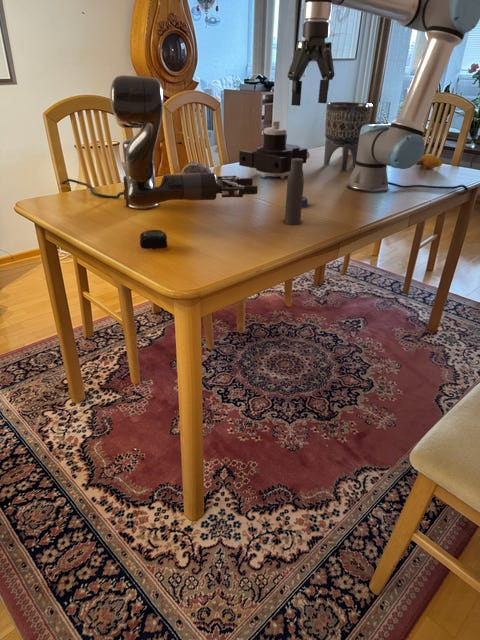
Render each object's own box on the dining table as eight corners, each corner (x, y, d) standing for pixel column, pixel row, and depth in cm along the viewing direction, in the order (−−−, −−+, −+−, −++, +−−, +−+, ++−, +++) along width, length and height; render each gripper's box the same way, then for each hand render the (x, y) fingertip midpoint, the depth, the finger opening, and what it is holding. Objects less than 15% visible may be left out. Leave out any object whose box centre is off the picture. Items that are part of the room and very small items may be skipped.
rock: (203, 174, 190) (203, 158, 187) (216, 178, 185) (216, 162, 181) (177, 179, 183) (176, 162, 179) (189, 183, 177) (189, 166, 174)
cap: (309, 206, 154) (310, 199, 153) (298, 207, 152) (298, 201, 151) (302, 202, 157) (303, 196, 156) (291, 204, 156) (291, 197, 154)
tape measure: (140, 252, 115) (139, 238, 113) (141, 242, 120) (140, 229, 119) (167, 251, 116) (166, 237, 114) (167, 241, 121) (166, 228, 120)
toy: (416, 161, 206) (411, 154, 219) (419, 175, 209) (413, 167, 222) (442, 153, 203) (435, 147, 216) (444, 167, 206) (437, 160, 219)
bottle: (281, 222, 138) (286, 159, 129) (289, 218, 142) (293, 157, 132) (295, 225, 136) (301, 161, 127) (302, 221, 139) (308, 159, 130)
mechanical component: (240, 120, 182) (283, 115, 202) (239, 174, 192) (280, 164, 212) (283, 126, 170) (325, 120, 190) (280, 183, 180) (320, 171, 200)
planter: (313, 167, 208) (319, 103, 195) (331, 160, 222) (338, 101, 209) (353, 173, 199) (362, 107, 185) (369, 166, 213) (379, 104, 199)
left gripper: (200, 179, 122) (260, 179, 124) (197, 167, 134) (251, 166, 136) (201, 207, 125) (258, 206, 128) (197, 192, 137) (250, 191, 140)
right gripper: (330, 24, 138) (322, 101, 149) (278, 19, 123) (273, 105, 133) (351, 23, 134) (342, 103, 144) (300, 18, 118) (293, 107, 129)
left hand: (254, 185), depth 132 cm, fingers open, 8 cm apart
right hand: (309, 104), depth 139 cm, fingers open, 13 cm apart
